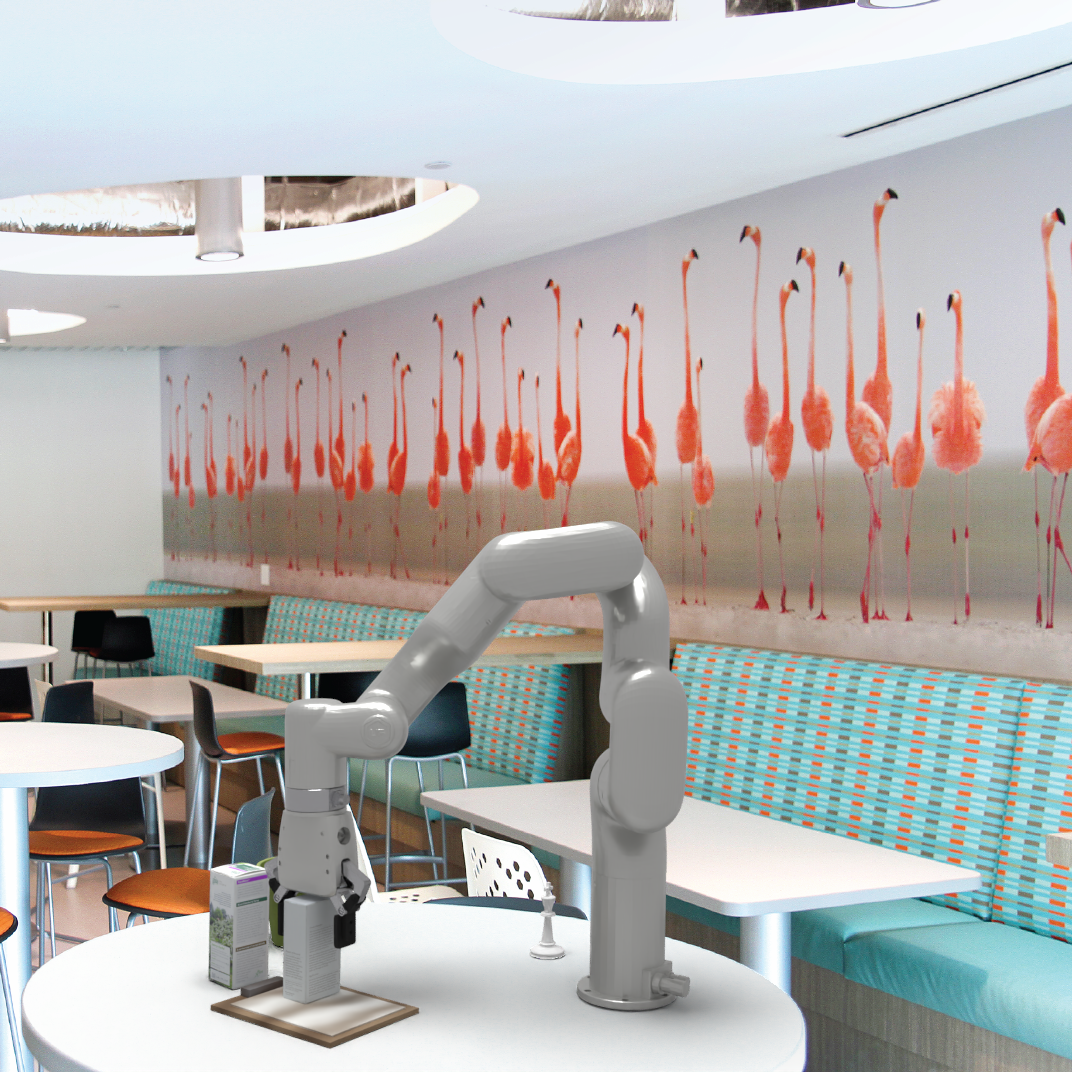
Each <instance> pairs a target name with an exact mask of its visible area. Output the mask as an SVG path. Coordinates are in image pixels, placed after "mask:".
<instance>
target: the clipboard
mask: <svg viewBox="0 0 1072 1072" xmlns="http://www.w3.org/2000/svg"><path fill="white" fill-rule="evenodd" d="M210 1011H213V1012H217V1013H220V1014H222V1015H225V1014H226V1015H225V1016H228V1015H229V1016H228V1017H231V1018H234V1017H235V1019H237V1018H239V1019H238V1020H241V1019H242V1020H241V1021H244V1020H245V1021H244V1022H248V1023H250V1022H251V1024H253V1023H255V1024H254V1025H256V1024H258V1025H257V1026H260V1027H262V1026H263V1027H262V1028H265V1027H266V1029H269V1030H272V1031H275V1032H278V1033H281V1034H285V1035H288V1036H291V1037H293V1038H294V1037H295V1038H297V1039H300V1040H303V1041H306V1042H309V1043H313V1044H316V1045H318V1046H319V1045H320V1046H322V1047H325V1048H328V1049H332V1048H334V1047H336V1046H339V1045H341V1043H342V1044H344V1043H346V1042H349V1041H352V1040H355V1039H356V1038H359V1037H362V1036H364V1035H367V1034H369V1033H371V1032H374V1031H376V1030H378V1029H382V1028H384V1027H387V1026H390V1025H392V1024H394V1023H397V1022H399V1021H401V1020H404V1019H407V1018H410V1017H412V1016H415V1015H417V1014H419V1013H420V1008H419V1007H417V1006H414V1005H410V1004H407V1003H403V1002H399V1001H397V1000H392V999H390V998H385V997H382V996H378V995H374V994H371V993H368V992H363V991H360V990H357V989H354V988H350V987H346V986H343V985H340V992H338V993H335V994H332V995H329V996H326V997H324V998H321V999H318V1000H315V1001H313V1002H310V1003H307V1004H303V1003H300V1002H297V1001H293V1000H290V999H286V998H284V997H283V976H280V975H274V976H272V977H268V979H266V980H263V981H260V982H256V983H253V984H250V985H247V986H244V987H241V988H240V994H239V995H236V996H234V997H231V998H228V999H224V1000H221V1001H218V1002H215V1003H211V1004H210Z"/></svg>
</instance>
